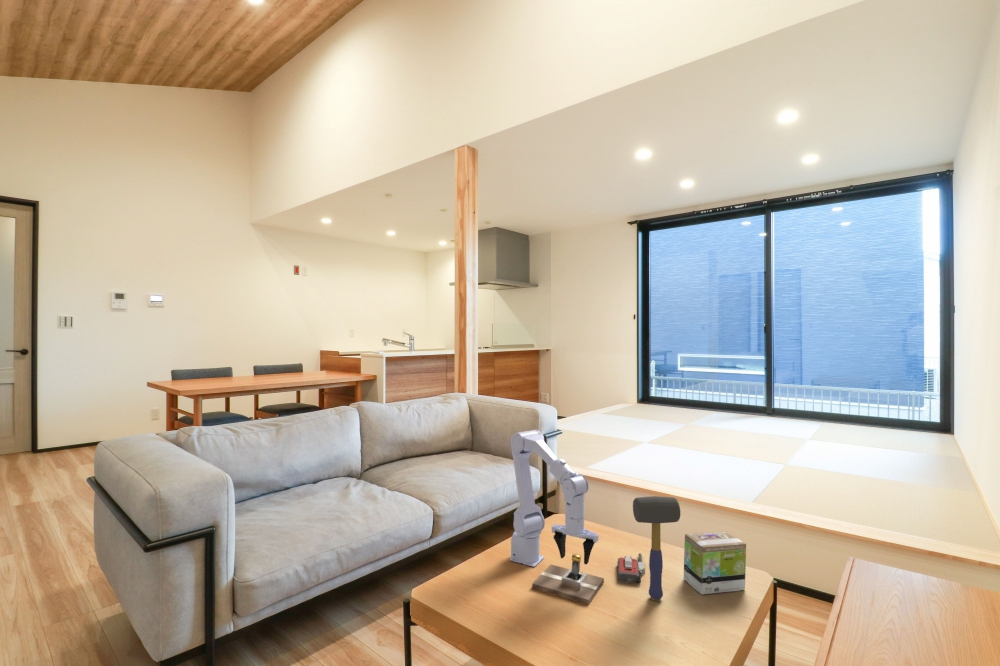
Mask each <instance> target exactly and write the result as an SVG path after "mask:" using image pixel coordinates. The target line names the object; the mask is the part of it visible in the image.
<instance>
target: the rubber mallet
mask: <svg viewBox="0 0 1000 666" xmlns="http://www.w3.org/2000/svg"><path fill="white" fill-rule="evenodd" d="M632 513H633V517H634V519H635V521H636V522H637V523H644V524H651V541H650V542H651V543H650V544H651V547H650V550H649V558H648V559H649V560H648V561H649V563H648V567H649V588H648V595H649V596H650V599H651V600H653V601H656V602H657V601H658V602H659V601H661V600H662V598H663V595H664V592H663V585H662V584H663V583H662V581H663V580H662V577H663V575H662V573H663V565H664V564H663V552H662V549H661V547H662V546H661V545H662V544H661V524H665V523H666V524H668V523H669V524H670V523H676V522H679V521H680V518H681V507H680V503H679V501H678V500H677V498H675V497H673V496H672V497H670V496H659V495H655V496H653V495H652V496H641V497H640V496H639V497H635V498H634V499H633V501H632Z"/></svg>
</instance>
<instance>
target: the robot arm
mask: <svg viewBox="0 0 1000 666" xmlns="http://www.w3.org/2000/svg"><path fill="white" fill-rule="evenodd" d="M509 441H510V448H511V449H510V450H511V455H512V460H513V466H514V474H515V481H516V489H517V496H518V503H519V504H518V505H519V506H518V507H517V509H516V510H515V511H514V512H513V530H514V532H513V534H512V536H511V538H510V539H511V540H510V558H509V561H510V562H515V563H518V564H521V563H522V565H525V566H530V567H533V568H535V567H537V565H538V564H539V563H540V562H541V561H543V560H544V558H545V556H544V555H540V553H541V552H540V551H541V549H540V547H541V544H540V542H541V541H540V538H541V537H540V536H541V534H542V530H544V529H545V526H546V522H545V517H544V515H543V513H542V508H541V507H539V506H538V505H537V504H536V502H535V496H534V489H533V480H532V473H531V466H530V460H529V459H530V457H531V455H532V454H533V453H535V454H536V455H538V456H539V458H540V459H542V460H543V461H544V462H545V464H546V465H548V466H549V472H550V474H551V475H552V476H553V477H554V478H555V480H556V481H558V483H559V484H560V487H561V491H562V494H563V500H564V502H565V515H564V516H565V519H564V521H565V523H564V525H563V524H555V523H554V524H553V525H552V526H551V533H552V534H554V535H553V540H554V542H555V543H556V546H557V548H558V551H559V552H558V553H559V557H560V559H564V557H565V556H566V541H567V536H569V537H573V538H579V539H583V540H584V541H583V542H582V546H583V547H582V548H583V563H584V564H583V565H587V564H589V561H590V556H591V553H592V549H593V548H594V545H595V543H598V542H599V539H600V538H599V535H600V534H599V533H596V532H594V531H591V530H588V529H585V494H586V493H588V491H589V488H590V487H589V482H588V480H587V477H586V476H585V475H583V474H579V473H577V472H575V471H574V470H573V469H572V468H571V467H570V465H569V464H568V463H567V461H566V460H565V459H562V458H557V456H556V455H555V453H554V452H553V451H552V450H551V449H550V447H549V445H547V443H546V441H545V436H544V435H543V433H541V431H540V430H539V429H532V430H525V431H518V432H517V431H516V432H514V433H513V434H512V435H511V438H509Z"/></svg>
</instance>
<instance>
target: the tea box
mask: <svg viewBox="0 0 1000 666" xmlns="http://www.w3.org/2000/svg"><path fill="white" fill-rule="evenodd" d="M683 548H684V552H683V553H684V554H683V580H684V581H685V582H686V583H688V585H689V586H691V587H692V588H693V589H694V590H696V591H697V592H698V594H700V595H702V596H703V595H708V594H710V595H711V594H718V593H729V592H730V593H732V592H741V591H740V590H744V591H745V590H746V569H747V568H746V566H747V565H746V562H747V560H746V559H747V544H746V543H745V542H744V541H743V540H741V539H739V538H738V537H736V536H735V535H733V534H731V533H729V532H728V531H727V530H722V531H708V532H697V533H695V532H694V533H684V547H683Z"/></svg>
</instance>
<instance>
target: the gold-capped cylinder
mask: <svg viewBox="0 0 1000 666" xmlns="http://www.w3.org/2000/svg"><path fill="white" fill-rule="evenodd" d="M581 562H582V555H581V554H577V553H572V554H571V570H572V572H571V579H574V580H578V581H579V572H580V569H581Z"/></svg>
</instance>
